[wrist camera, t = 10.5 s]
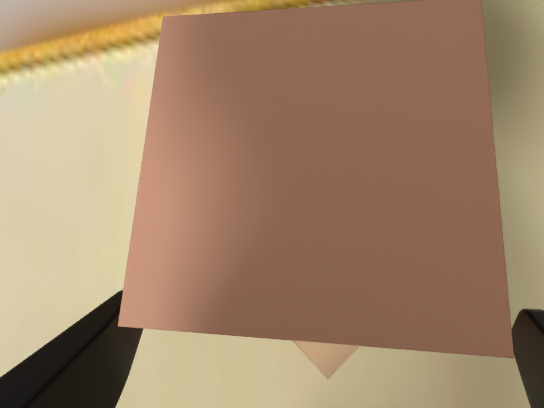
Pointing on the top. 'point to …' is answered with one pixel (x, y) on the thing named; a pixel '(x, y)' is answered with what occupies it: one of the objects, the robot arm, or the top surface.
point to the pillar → (323, 180)
